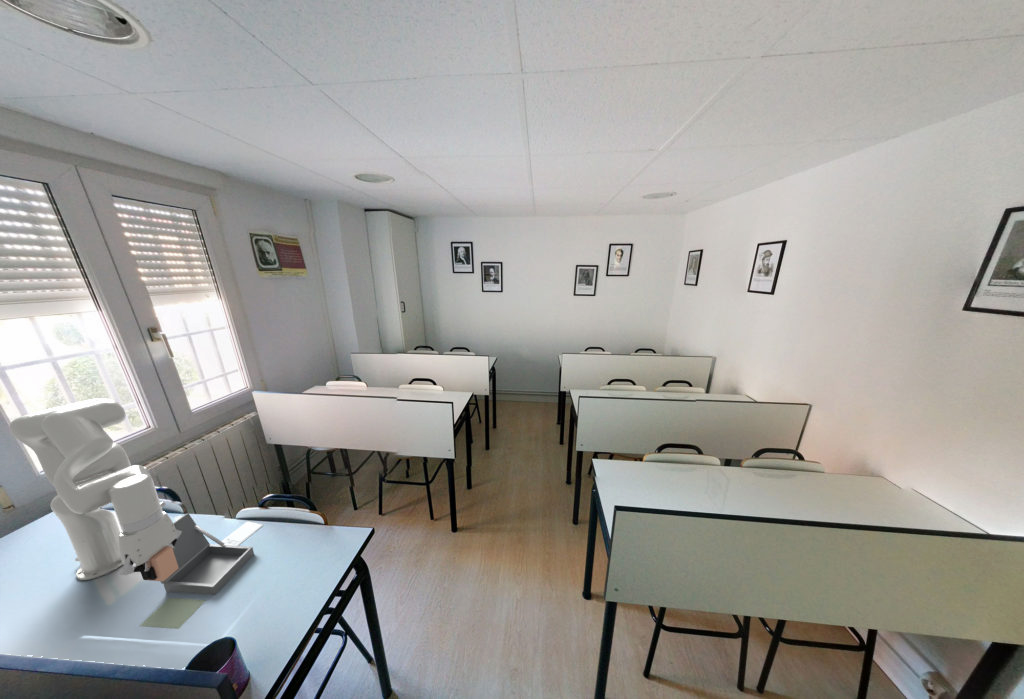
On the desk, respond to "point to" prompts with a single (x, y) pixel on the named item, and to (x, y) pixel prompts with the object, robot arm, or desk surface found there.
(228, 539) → the external hard drive
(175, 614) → the olive mat
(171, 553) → the block
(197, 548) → the equipment case
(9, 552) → the desk surface
